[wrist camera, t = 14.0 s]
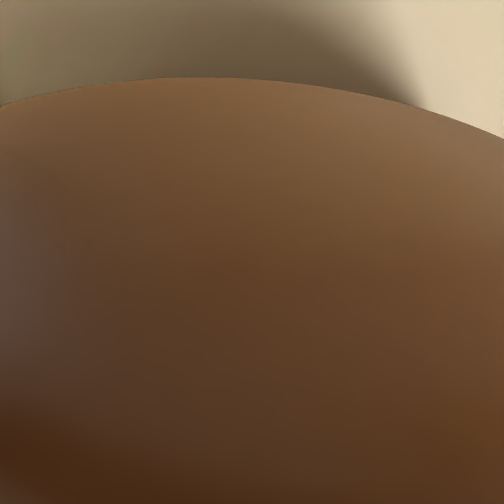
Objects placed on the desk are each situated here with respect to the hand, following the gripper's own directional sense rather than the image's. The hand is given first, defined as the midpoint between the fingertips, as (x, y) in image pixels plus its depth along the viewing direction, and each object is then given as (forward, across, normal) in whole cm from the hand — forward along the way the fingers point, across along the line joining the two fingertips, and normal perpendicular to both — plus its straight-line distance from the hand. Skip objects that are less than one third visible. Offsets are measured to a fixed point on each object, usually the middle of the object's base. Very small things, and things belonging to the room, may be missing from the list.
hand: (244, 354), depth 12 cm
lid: (-9, 0, -6) cm, 11 cm away
